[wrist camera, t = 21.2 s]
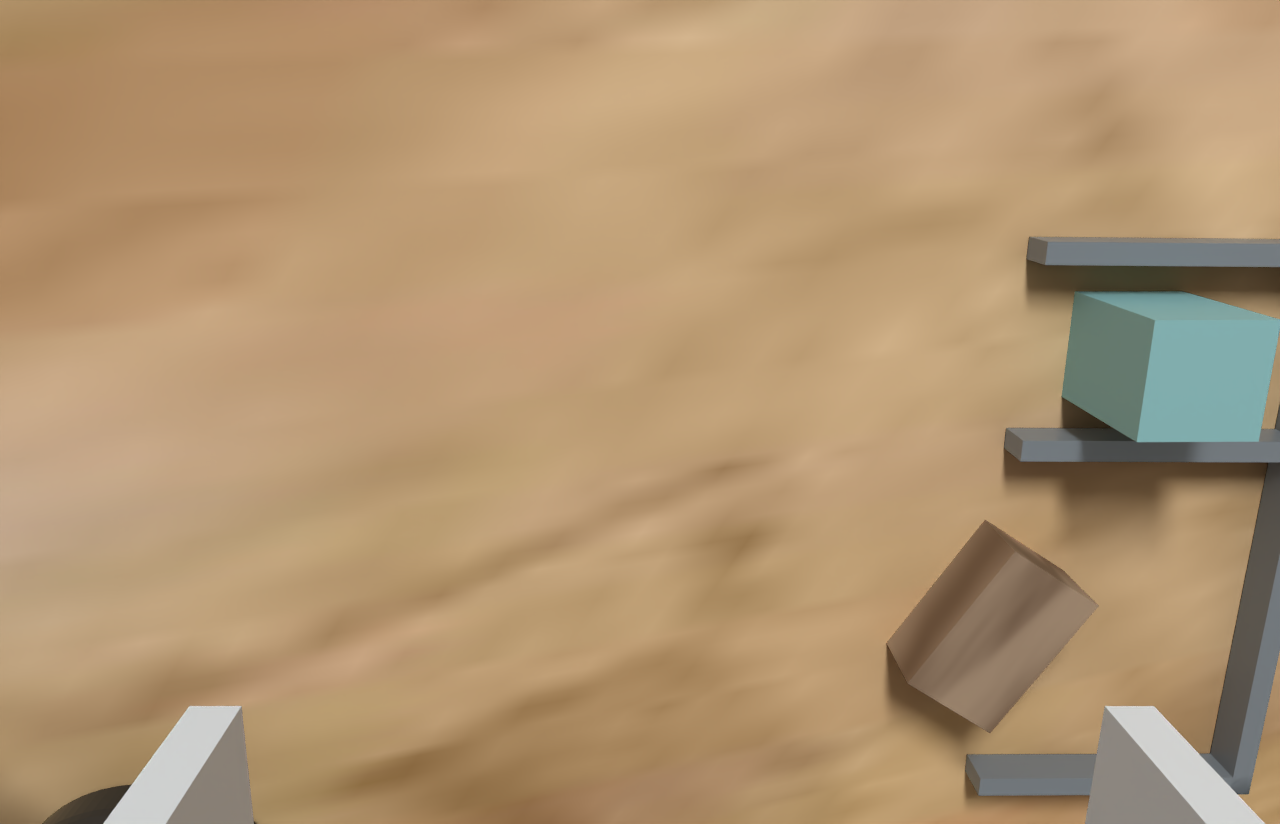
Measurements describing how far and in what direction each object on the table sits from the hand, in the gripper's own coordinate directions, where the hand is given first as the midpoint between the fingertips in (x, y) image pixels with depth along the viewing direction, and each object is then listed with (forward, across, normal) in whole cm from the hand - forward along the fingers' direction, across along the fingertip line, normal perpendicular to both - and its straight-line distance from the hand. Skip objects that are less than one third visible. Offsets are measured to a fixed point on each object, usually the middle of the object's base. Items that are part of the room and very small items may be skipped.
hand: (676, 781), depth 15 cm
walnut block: (+30, +20, -14) cm, 38 cm away
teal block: (+31, +23, 0) cm, 39 cm away
